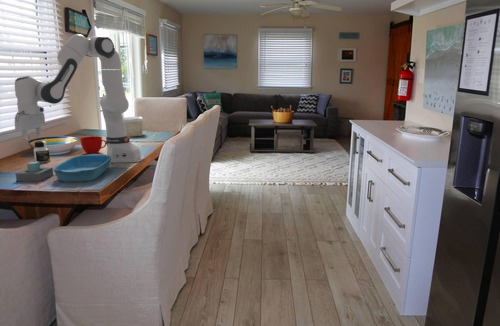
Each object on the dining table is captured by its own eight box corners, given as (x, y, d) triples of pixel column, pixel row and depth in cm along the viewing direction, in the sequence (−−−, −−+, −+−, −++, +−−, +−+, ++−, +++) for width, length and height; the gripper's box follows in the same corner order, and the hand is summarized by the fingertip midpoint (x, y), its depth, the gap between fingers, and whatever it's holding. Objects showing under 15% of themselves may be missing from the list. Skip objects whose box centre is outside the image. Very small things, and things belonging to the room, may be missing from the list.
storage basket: (113, 138, 317) (111, 119, 313) (112, 135, 332) (111, 117, 328) (144, 136, 324) (143, 118, 321) (142, 133, 339) (141, 116, 336)
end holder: (53, 175, 209) (52, 167, 208) (40, 181, 197) (39, 173, 196) (31, 174, 210) (30, 167, 209) (16, 181, 198) (15, 173, 197)
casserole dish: (94, 184, 193) (93, 170, 191) (47, 185, 192) (45, 170, 190) (117, 166, 229) (116, 153, 227) (77, 166, 228) (76, 154, 226)
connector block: (41, 175, 205) (39, 161, 203) (36, 177, 201) (34, 163, 199) (33, 175, 205) (31, 161, 204) (29, 177, 201) (27, 163, 200)
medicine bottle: (37, 163, 236) (34, 142, 233) (34, 160, 241) (32, 141, 238) (50, 161, 240) (47, 141, 237) (48, 159, 245) (45, 139, 243)
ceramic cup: (101, 156, 254) (100, 140, 251) (77, 154, 257) (75, 139, 254) (112, 151, 266) (111, 136, 264) (89, 150, 269) (87, 136, 267)
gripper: (21, 112, 188) (26, 141, 191) (45, 107, 208) (49, 134, 211) (8, 112, 188) (13, 141, 192) (33, 107, 208) (37, 134, 212)
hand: (32, 137), depth 202 cm, fingers open, 8 cm apart
